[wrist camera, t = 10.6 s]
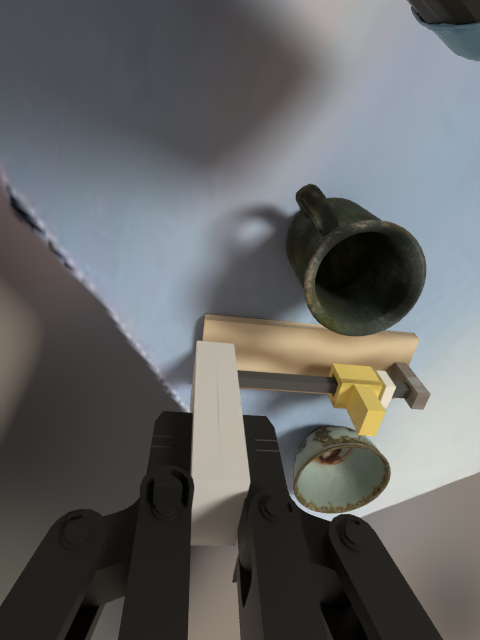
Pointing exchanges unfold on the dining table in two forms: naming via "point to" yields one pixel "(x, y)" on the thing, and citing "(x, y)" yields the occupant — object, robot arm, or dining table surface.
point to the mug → (353, 265)
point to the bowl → (338, 470)
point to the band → (385, 388)
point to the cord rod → (302, 383)
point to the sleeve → (358, 396)
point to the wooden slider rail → (315, 350)
